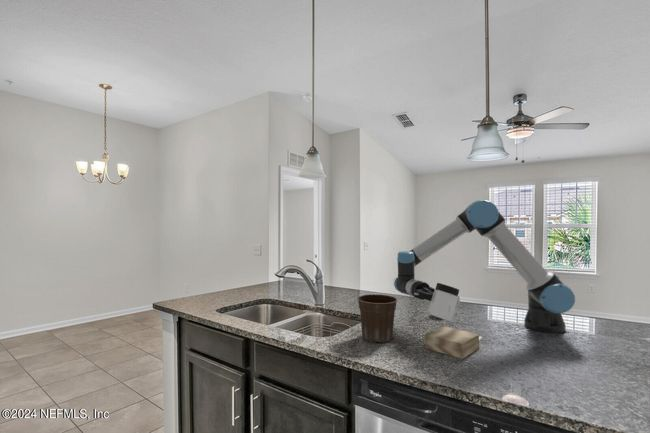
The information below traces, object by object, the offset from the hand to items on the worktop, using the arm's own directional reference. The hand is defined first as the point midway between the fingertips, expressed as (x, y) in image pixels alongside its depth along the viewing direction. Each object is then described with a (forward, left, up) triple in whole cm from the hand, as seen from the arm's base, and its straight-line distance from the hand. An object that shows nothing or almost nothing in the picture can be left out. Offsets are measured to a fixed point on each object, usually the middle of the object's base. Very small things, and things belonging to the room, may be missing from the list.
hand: (454, 300), depth 120 cm
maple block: (+2, -1, -18) cm, 18 cm away
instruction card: (+4, -15, -18) cm, 24 cm away
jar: (+5, +2, -7) cm, 9 cm away
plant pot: (+28, +10, -18) cm, 35 cm away
